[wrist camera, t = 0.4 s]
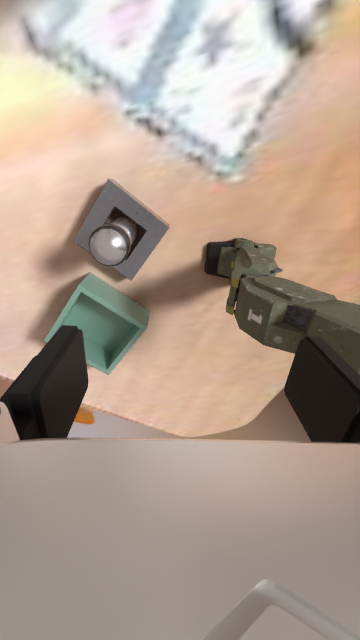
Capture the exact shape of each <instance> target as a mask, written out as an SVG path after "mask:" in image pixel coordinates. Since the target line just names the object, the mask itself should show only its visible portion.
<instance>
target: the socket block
mask: <svg viewBox="0 0 360 640" xmlns="http://www.w3.org/2000/svg"><path fill="white" fill-rule="evenodd" d="M116 207H117V208H118V209H119V210H121V211H122V212H123V213H124V214H126V215H127V216H128V217H130V218H131V219H132V220H134V221H135V222H136V223H138V224H139V225H140V226H141V227H143V228H144V229H145V230H146V232H145V233H144V235H143V236H142V238H141V239H140V241H139V242H138V244H137V245H136V247H135V248H134V250H133V251H132V252H131V254H130V255H128V256H127V258H126V259H125V261H124V262H122V263H121V264H119V265H116V266H111V267H112V268H114V269H115V270H117V271H118V272H119V273H121V274H122V275H124V276H125V277H127V278H128V279H130V280H132V279H133V278H134V276H135V275H136V273H137V272H138V271H139V269H140V268H141V266H142V265H143V264H144V262H145V261H146V259H147V258H148V257H149V255H150V254H151V252H152V251H153V250H154V248H155V247H156V245H157V244H158V243H159V241H160V240H161V238H162V237H163V236H164V234H165V233H166V231H167V230H168V229H169V224H168V223H166V222H165V221H164V220H163V219H161V218H160V217H159V216H158V215H157V214H155V213H154V212H153V211H152V210H150V209H149V208H148V207H147V206H145V205H144V204H143V203H142V202H140V201H139V200H138V199H137V198H135V197H134V196H133V195H132V194H130V193H129V192H128V191H127V190H125V189H124V188H123V187H122V186H120V185H119V184H118V183H117V182H115V181H114V180H113V179H108V181H107V182H106V184H105V186H104V188H103V189H102V191H101V193H100V195H99V196H98V198H97V200H96V202H95V203H94V205H93V207H92V209H91V210H90V212H89V214H88V216H87V217H86V219H85V221H84V223H83V224H82V226H81V228H80V230H79V231H78V233H77V235H76V237H75V238H74V240H73V241H74V242H75V243H77V244H78V245H80V246H81V247H83V248H84V249H86V250H87V251H88V252H90V250H89V238H90V236H91V234H92V232H93V231H94V230H95V229H97V228H98V227H100V226H102V225H105V224H107V222H108V220H109V219H110V217H111V215H112V214H113V212H114V210H115V209H116ZM90 253H91V252H90Z"/></svg>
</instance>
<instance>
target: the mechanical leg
mask: <svg viewBox="0 0 360 640" xmlns="http://www.w3.org/2000/svg"><path fill="white" fill-rule="evenodd" d="M275 252H276V247H275V246H273V245H269V244H257V243H254V242H253V241H250V240H247V239H244V238H237V239H236V241H235V243H234V241H227V242H209V243H208V245H207V253H206V262H205V272H206V273H207V274H211V275H215V276H220V277H224V278H229V281H230V285H231V287H230V293H229V297H228V299H227V305H226V312H228V313H229V314H231V315H233V313H234V315H235V318H236V320H237V323H238V326H239V328H240V329H241V330H243V331H244V332H245V333H247V334H248V335H250V336H251V337H253V338H254V339H256V340H257V341H259V342H260V343H261V344H263V345H265V346H269V347H272V348H276V349H280V350H283V351H287V352H291V353H294V354H296V350H297V347H298V344H299V342H300V340H301V339H304V337H306V336H315V337H321V338H322V339H323V340H324V341H325V342H326V343H327V344H328V345H330V346H331V347H332V348H333V349H334V350H335V351H336V352H337V353H338V354H339V355H340V356H341V357H342V358H343V359H344V360H345V361H346V362H347V363H348V364H349V365H350V366H351V367H352V368H353V369H354V370H355V371H356V372H357V373H358V374H359V375H360V305H357V304H354V303H349V302H344V301H339V300H337V299H336V297H335V296H334V295H330V294H327V293H324V292H321V291H318V290H315V289H312V288H310V287H307V286H304V285H301V284H298V283H296V282H293V281H290V280H287V279H284V278H278V277H275V275H276V273H278V272H282V269H280V268H278V266H277V264H276V262H275V261H274V257H275ZM236 301H237V303H236ZM235 303H236V309H235V310H234V306H235ZM233 311H234V312H233Z"/></svg>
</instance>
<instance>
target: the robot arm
mask: <svg viewBox="0 0 360 640" xmlns="http://www.w3.org/2000/svg"><path fill="white" fill-rule="evenodd" d="M87 387H88V374H87V365H86V357H85V348H84V339H83V332H82V330H81V329H78V327H77V326H70V325H62V326H61V327H60V328H59V329H58V330H57V332H56V333H55V334H54V335H53V336H52V338H51V339H50V340H49V341H48V343H47V344H46V345H45V346H44V348H43V349H42V350H41V351H40V353H39V354H38V355H37V356H35V357H34V358H33V359H32V360H31V361H30V363H29V364H28V365H27V366H26V368H25V369H24V370H23V371H22V373H21V374H20V375H19V376H18V377H17V379H16V380H15V381H14V382H13V384H12V385H11V386H10V387H9V388H8V390H7V391H6V392H5V393H4V395H3V396H2V397H1V399H0V640H360V375H359V374H358V373H357V372H356V371H355V370H354V369H353V368H352V367H351V366H350V365H349V364H348V363H347V362H346V361H345V360H344V359H343V358H342V357H341V356H340V355H339V354H338V353H337V352H336V351H335V350H334V349H333V348H332V347H331V346H330V345H328V344H327V343H326V342H325V341H324V340H323V339H322V338H321V337H315V336H306V337H304V339H301V340H300V342H299V344H298V347H297V350H296V354H295V357H294V360H293V363H292V366H291V369H290V372H289V375H288V378H287V381H286V384H285V388H284V391H285V395H286V397H287V398H288V400H289V402H290V404H291V406H292V407H293V409H294V411H295V413H296V414H297V416H298V418H299V420H300V422H301V423H302V425H303V427H304V429H305V431H306V432H307V434H308V436H309V438H310V440H311V441H312V442H308V441H307V442H306V441H266V440H216V439H215V440H214V439H153V438H146V439H144V438H67V436H68V433H69V431H70V428H71V426H72V424H73V421H74V419H75V417H76V414H77V412H78V410H79V407H80V405H81V402H82V400H83V398H84V395H85V393H86V390H87Z"/></svg>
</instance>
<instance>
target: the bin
mask: <svg viewBox="0 0 360 640" xmlns="http://www.w3.org/2000/svg"><path fill="white" fill-rule="evenodd" d="M149 312H150V311H149V310H147V309H146V308H144V307H143V306H141V305H139V304H138V303H136V302H135V301H133V300H132V299H130V298H129V297H127V296H126V295H124V294H123V293H121V292H120V291H118V290H116V289H115V288H113V287H112V286H110V285H109V284H107V283H106V282H104V281H103V280H101V279H100V278H98V277H96V276H95V275H93V274H92V273H89V274H88V275H87V276H86V277H85V278H84V279H83V280H82V282H81V283H80V284H79V285H78V287H77V288H76V290H75V291H74V293H73V295H72V296H71V298H70V299H69V301H68V303H67V304H66V306H65V307H64V309H63V311H62V312H61V314H60V315H59V317H58V319H57V320H56V322H55V323H54V325H53V327H52V328H51V330H50V331H49V333H48V334H47V336H46V338H45V339H44V341H45V342H47V343H48V341H49V340H50V339H51V338H52V336H53V335H54V334H55V333H56V332H57V330H58V329H59V328H60V327H61V326H62V325H70V326H77V327H78V329H81V330H82V332H83V339H84V348H85V357H86V363H87V364H88V365H90V366H92V367H94V368H96V369H98V370H100V371H102V372H104V373H106V374H107V375H109V374H110V373H111V371H112V370H113V369H114V368H115V366H116V365H117V364H118V363H119V362H120V360H121V359H122V358H123V357H124V355H125V354H126V353H127V352H128V350H129V349H130V348H131V347H132V346H133V344H134V343H135V342H136V341H137V339H138V338H139V337H140V336H141V334H142V333H143V332H144V331H145V329H146V328H147V325H148V319H149Z"/></svg>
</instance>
